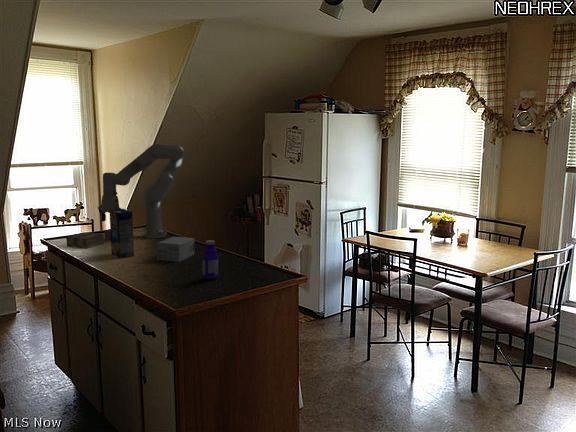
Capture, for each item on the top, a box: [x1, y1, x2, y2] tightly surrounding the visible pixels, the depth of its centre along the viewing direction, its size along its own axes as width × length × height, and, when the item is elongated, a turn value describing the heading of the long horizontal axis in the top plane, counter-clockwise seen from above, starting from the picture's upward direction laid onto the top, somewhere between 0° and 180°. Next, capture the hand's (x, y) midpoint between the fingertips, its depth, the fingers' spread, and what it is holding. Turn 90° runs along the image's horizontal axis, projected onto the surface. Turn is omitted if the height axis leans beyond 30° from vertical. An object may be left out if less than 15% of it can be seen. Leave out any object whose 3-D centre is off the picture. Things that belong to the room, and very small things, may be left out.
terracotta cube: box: [104, 228, 111, 242], centre depth 314 cm, size 6×6×6 cm
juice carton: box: [108, 208, 135, 259], centre depth 275 cm, size 12×8×24 cm, turn 40°
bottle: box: [201, 239, 219, 280], centre depth 235 cm, size 7×6×17 cm
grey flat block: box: [65, 231, 105, 249], centre depth 299 cm, size 14×14×6 cm
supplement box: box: [156, 236, 195, 263], centre depth 273 cm, size 17×13×9 cm
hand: (110, 221), depth 312 cm, fingers open, 9 cm apart
